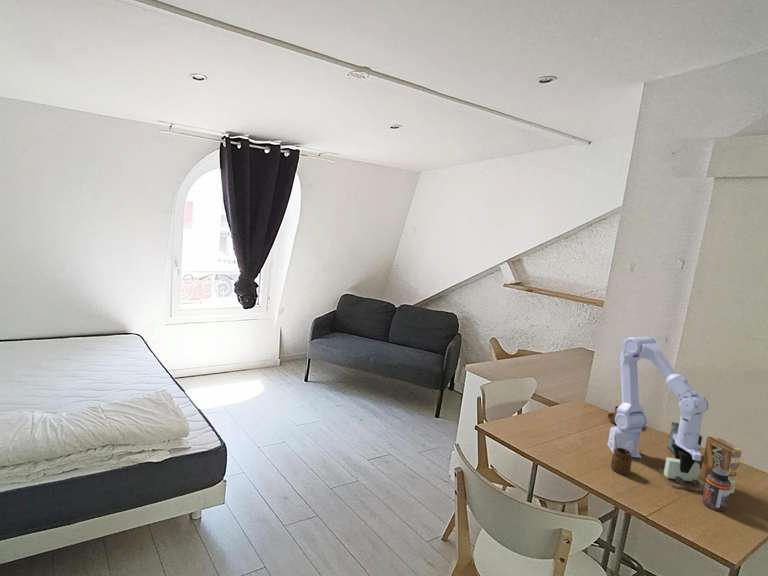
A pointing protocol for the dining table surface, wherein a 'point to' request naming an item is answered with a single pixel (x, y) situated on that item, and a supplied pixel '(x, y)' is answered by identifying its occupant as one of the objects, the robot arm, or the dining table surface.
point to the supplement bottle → (717, 490)
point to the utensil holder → (621, 460)
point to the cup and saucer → (613, 415)
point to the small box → (675, 430)
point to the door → (674, 470)
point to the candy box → (721, 459)
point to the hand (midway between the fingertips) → (682, 469)
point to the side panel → (685, 483)
